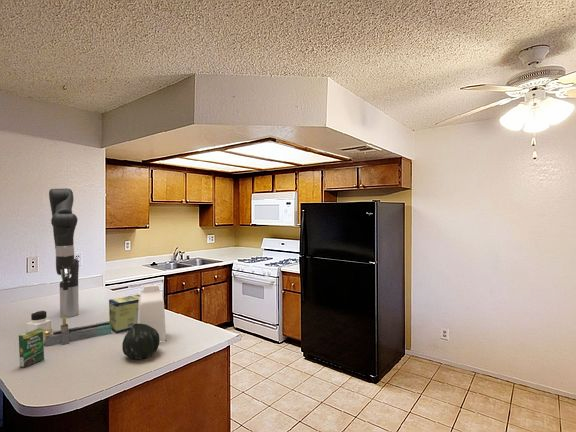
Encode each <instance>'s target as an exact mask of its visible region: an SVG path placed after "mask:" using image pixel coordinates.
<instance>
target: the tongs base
mask: <svg viewBox="0 0 576 432" xmlns="http://www.w3.org/2000/svg"><path fill="white" fill-rule="evenodd" d="M69 329H70V328H69V324H68V323H66V326H63V324H60V330H61V334H56V335H53V334H52V333H53V329H52V328H51V329H47V330H43V334H44V337H43V343H44V346H45V347H49V346H50V347H51V346H55V345H59V344H61V345H62V346H64V345H68V344H70V342H76V341H79V340H81V341H82V340H84V339H85V340H86V339H91V338H94V337H95V338H96V337H101V336H106V335H111V334H113V333H112V332H113V331H112V329H111V324H110V325H104V326H99V327H94V328H89V329H83V330H78V331H72V332H69ZM50 333H51V334H50Z"/></svg>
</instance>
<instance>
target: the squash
mask: <svg viewBox="0 0 576 432" xmlns="http://www.w3.org/2000/svg"><path fill="white" fill-rule="evenodd" d="M126 332H127V333H126V334H125V335H124V338H123V340H122V345H121V347H122V352H123V354H124V356H125V357H127V358H129V359H130V360H131V359H132V360H134V359H135V358H136V359H137V360H142V359H144V358H147V357H148V358H149V357H151V356H152V355H153V354H154V353H155V352H157V351H158V349H159V345H160V343H159V340H160V339H159V334H158V332H157V330H155V329H154V328H152V327H150V326H149V325H146V324H138V323H137V324H134V325H133V326H132V327H131V329H130V330H129V331H126ZM148 358H147V359H148ZM136 359H135V360H136Z"/></svg>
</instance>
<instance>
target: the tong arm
mask: <svg viewBox="0 0 576 432" xmlns="http://www.w3.org/2000/svg"><path fill="white" fill-rule="evenodd" d="M104 325H110V321H109V320H108V321H103V322H98V323H97V322H96V323H94V324H93V323H92V324H87V325H82V326H81V325H80V326H76V327H71V328H68V329H69V332H72V331H78V330H83V329H89V328H94V327H99V326H104ZM56 334H61V329H59V330H54V331H53V330H52V335H56Z"/></svg>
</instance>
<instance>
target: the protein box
mask: <svg viewBox="0 0 576 432" xmlns="http://www.w3.org/2000/svg"><path fill="white" fill-rule="evenodd" d="M140 295H141V294H132V295H127V296H122V297H118V298H111V299H108V311H109V312H108V314H109V315H108V317H109V319H108V321H110V324H111V329H112V332H114V333H115V334H117V335H118V334H121V333H122V334H123V333H126V332H128V331H129V330H130V329H131V327H132V326H133V325H134V324H137V323H138V302H139V297H140Z"/></svg>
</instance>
